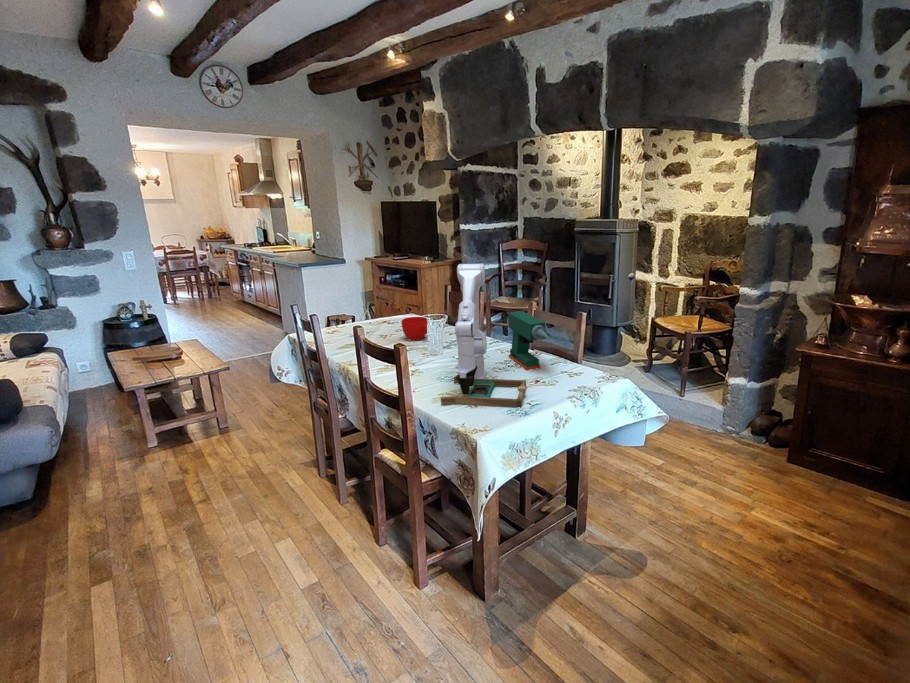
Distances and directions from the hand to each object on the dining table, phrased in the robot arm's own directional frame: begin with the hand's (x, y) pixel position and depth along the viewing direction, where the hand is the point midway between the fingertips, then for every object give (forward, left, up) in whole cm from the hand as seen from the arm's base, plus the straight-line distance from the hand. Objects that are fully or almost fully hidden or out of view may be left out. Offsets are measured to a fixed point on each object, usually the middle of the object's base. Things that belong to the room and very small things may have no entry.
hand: (467, 389), depth 176 cm
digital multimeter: (-1, +5, -2) cm, 5 cm away
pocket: (0, +6, -2) cm, 7 cm away
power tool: (-31, +20, -2) cm, 37 cm away
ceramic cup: (-66, -39, -2) cm, 77 cm away
